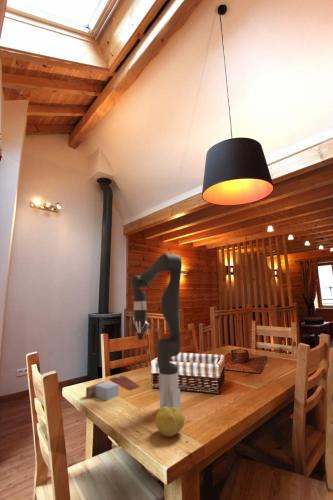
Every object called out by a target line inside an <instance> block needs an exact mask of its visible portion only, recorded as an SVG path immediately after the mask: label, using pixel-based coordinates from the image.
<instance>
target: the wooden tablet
mask: <svg viewBox="0 0 333 500" xmlns="http://www.w3.org/2000/svg"><path fill="white" fill-rule="evenodd" d="M109 380H110V382H112V383H115V384H119V387H121V388H123V389H125V390H128V391H132V390H135V389H139V388H141V386H140V384H139V383H136V382H135V381H134V380H132V379H131V378H129V377H127V376H125V375H120V376H117V377H111V378H109Z"/></svg>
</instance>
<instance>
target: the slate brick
mask: <svg viewBox="0 0 333 500" xmlns="http://www.w3.org/2000/svg"><path fill="white" fill-rule="evenodd" d="M102 382H103V381H102ZM99 383H100V382H99ZM96 384H97V385H95V384H94V385H95V397H96V398H99V399H101V400H104V401H110V400H112V399H113V398H116V397H118V396H119V391H120V390H119V387H120V386H119V384H116V383H114V382H113V381H107V380H106V381H104V382H103V383H100V384H98V383H96Z"/></svg>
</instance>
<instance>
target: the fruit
mask: <svg viewBox="0 0 333 500" xmlns="http://www.w3.org/2000/svg"><path fill="white" fill-rule="evenodd" d="M154 417H155V419H154V423H155V426H156V428H157V429H158V431H159V432H160V434H161V435H163V436H164V437H166V438H167V437H173V436H175V435H176V434H178V433H179V432H180V431H181V430H182V429H183V428H184V426H185V415H184V413H183V412H182V409H181V410H179V409H178V408H177V407H171V408H169V407H166V406H165V407H162V408H161V409H160V408H159V410H158V411H157V413H156V415H155V416H154Z"/></svg>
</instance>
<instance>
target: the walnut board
mask: <svg viewBox="0 0 333 500" xmlns="http://www.w3.org/2000/svg"><path fill="white" fill-rule="evenodd" d="M103 382H105V381H101V382H97V383H95V384H92V385H90V386H86V387H85V388H86V389H85V391H86V392H85V398H87V399H89V400H90V399H92V398H95V397H96V396H95V385H97V384H100V383H103Z"/></svg>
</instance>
